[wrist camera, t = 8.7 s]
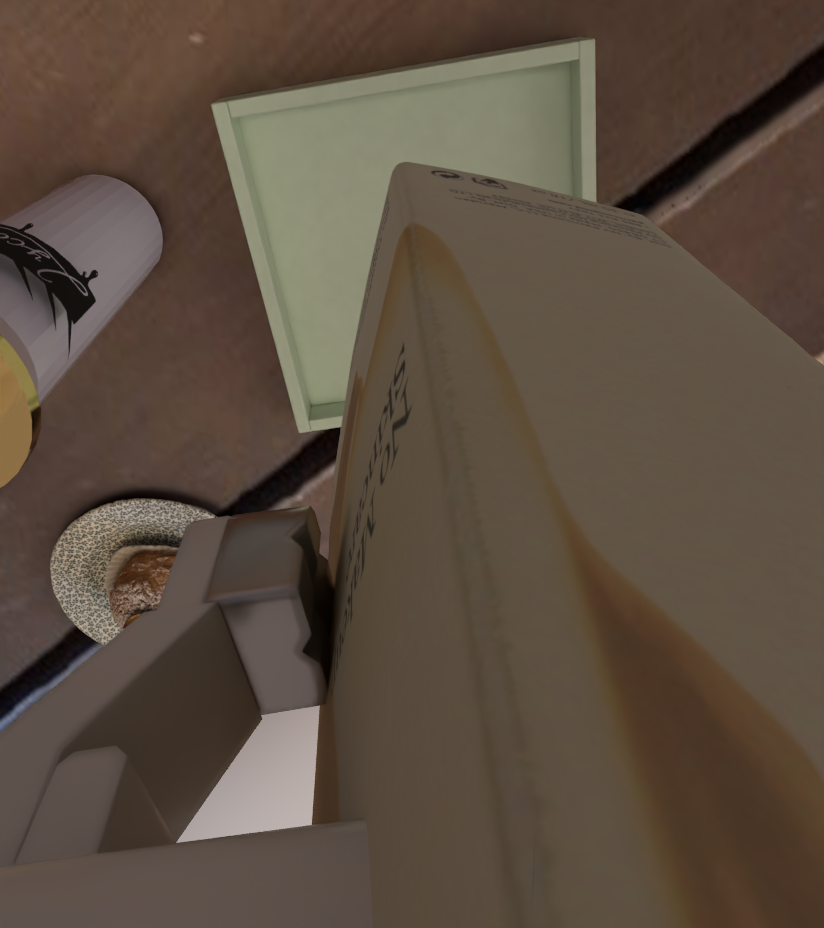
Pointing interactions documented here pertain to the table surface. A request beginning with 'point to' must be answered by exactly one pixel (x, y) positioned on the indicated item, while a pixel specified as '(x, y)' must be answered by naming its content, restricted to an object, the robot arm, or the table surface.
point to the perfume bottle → (63, 292)
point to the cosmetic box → (573, 577)
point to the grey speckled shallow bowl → (118, 562)
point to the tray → (386, 179)
